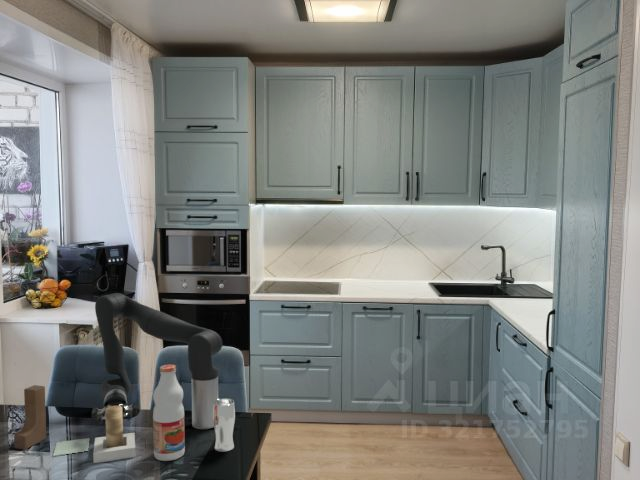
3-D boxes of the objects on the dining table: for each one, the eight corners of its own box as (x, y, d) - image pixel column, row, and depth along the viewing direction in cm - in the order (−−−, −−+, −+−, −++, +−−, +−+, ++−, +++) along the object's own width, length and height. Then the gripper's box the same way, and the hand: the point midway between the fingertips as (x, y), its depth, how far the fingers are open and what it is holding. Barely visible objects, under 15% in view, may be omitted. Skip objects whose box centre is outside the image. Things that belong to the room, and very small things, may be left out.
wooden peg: (123, 447, 173) (122, 404, 173) (123, 453, 169) (122, 410, 168) (106, 449, 172) (105, 406, 171) (106, 456, 167) (105, 412, 166)
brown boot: (25, 450, 171) (23, 394, 170) (13, 448, 173) (12, 393, 172) (46, 438, 180) (45, 385, 179) (36, 437, 181) (34, 384, 180)
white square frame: (134, 441, 178) (134, 432, 178) (135, 457, 167) (135, 447, 166) (95, 446, 174) (95, 437, 174) (93, 463, 163) (93, 453, 162)
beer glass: (239, 444, 175) (238, 399, 174) (228, 453, 169) (228, 407, 168) (220, 441, 178) (219, 397, 177) (209, 450, 171) (208, 404, 170)
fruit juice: (167, 446, 174) (165, 360, 173) (191, 451, 171) (189, 364, 169) (147, 458, 166) (145, 368, 164) (171, 464, 162) (170, 372, 160)
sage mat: (89, 439, 180) (89, 437, 180) (88, 451, 170) (88, 450, 170) (56, 443, 176) (56, 442, 176) (53, 456, 167) (53, 455, 167)
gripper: (93, 394, 187) (90, 410, 172) (136, 389, 192) (137, 405, 177) (93, 415, 188) (91, 433, 172) (136, 410, 192) (137, 427, 177)
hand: (114, 419), depth 175 cm, fingers open, 8 cm apart
